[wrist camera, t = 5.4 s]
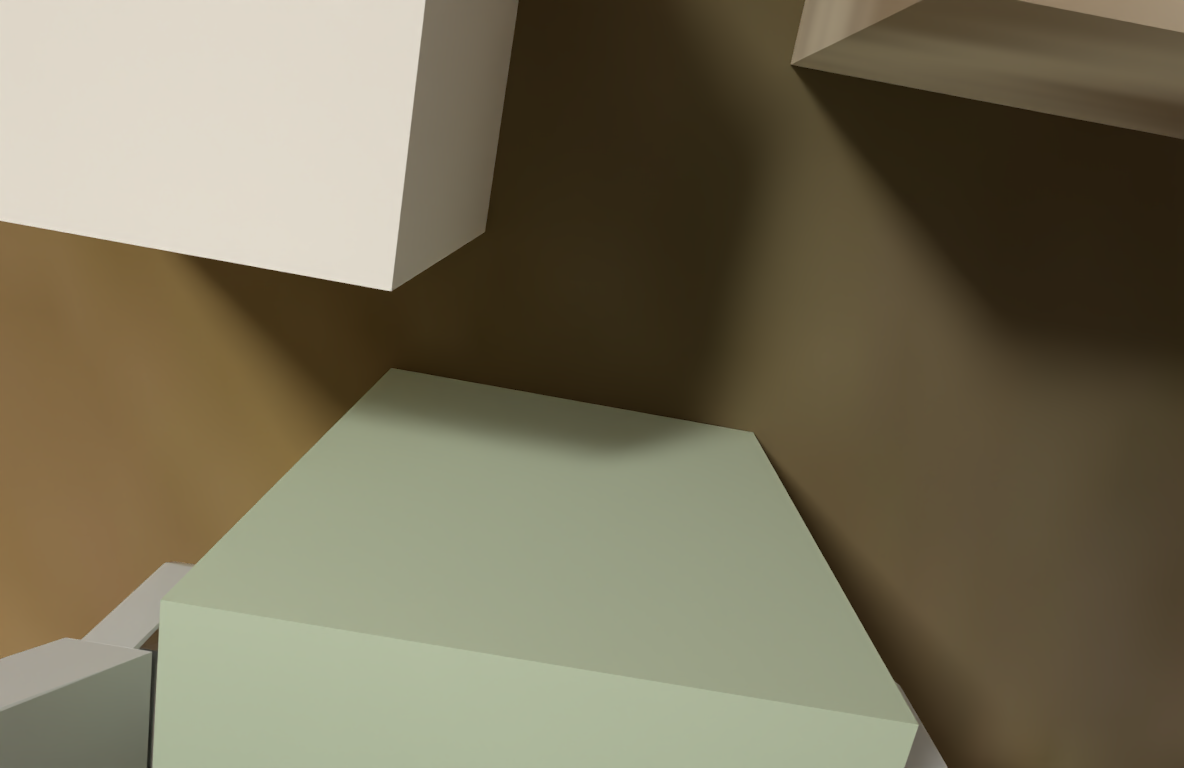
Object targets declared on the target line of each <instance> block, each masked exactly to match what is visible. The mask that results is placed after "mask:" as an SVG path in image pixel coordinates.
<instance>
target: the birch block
mask: <svg viewBox="0 0 1184 768" xmlns="http://www.w3.org/2000/svg"><path fill="white" fill-rule="evenodd" d="M791 65H795V66H800V67H805V68H810V69H816V70H821V71H826V72H832V73H837V74H842V75H847V76H853V77H858V78H863V79H868V80H874V81H879V82H884V83H890V84H895V85H900V86H905V87H911V88H916V89H921V90H926V91H932V92H937V93H942V94H948V95H953V96H958V97H963V98H969V99H974V100H979V101H984V102H990V103H995V104H1000V105H1005V106H1011V107H1016V108H1021V109H1027V110H1032V111H1037V112H1042V113H1048V114H1053V115H1058V116H1063V117H1069V118H1074V119H1079V120H1085V121H1090V122H1095V123H1100V124H1106V125H1111V126H1116V127H1121V128H1127V129H1132V130H1137V131H1143V132H1148V133H1153V134H1158V135H1164V136H1169V137H1174V138H1179V139H1184V0H805V3H804V8H803V12H802V17H801V21H800V25H799V30H798V34H797V39H796V43H795V47H794V52H793V56H792V61H791Z"/></svg>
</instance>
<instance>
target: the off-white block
mask: <svg viewBox="0 0 1184 768" xmlns="http://www.w3.org/2000/svg"><path fill="white" fill-rule="evenodd" d="M518 2H519V0H0V221H5V222H11V223H16V224H22V225H27V226H33V227H38V228H44V229H49V230H55V231H60V232H66V233H71V234H77V235H82V236H88V237H94V238H99V239H105V240H110V241H116V242H121V243H127V244H132V245H138V246H143V247H149V248H154V249H160V250H165V251H171V252H176V253H182V254H187V255H193V256H199V257H204V258H210V259H215V260H221V261H226V262H232V263H237V264H243V265H248V266H254V267H259V268H265V269H270V270H276V271H281V272H287V273H292V274H298V275H304V276H309V277H315V278H320V279H326V280H331V281H337V282H342V283H348V284H353V285H359V286H364V287H370V288H375V289H381V290H386V291H393V290H394V289H396V288H397V287H399V286H401V285H402V284H404V283H405V282H407V281H409V280H410V279H412V278H413V277H415V276H416V275H418V274H420V273H421V272H423V271H424V270H426V269H427V268H429V267H431V266H432V265H434V264H435V263H437V262H438V261H440V260H442V259H443V258H445V257H446V256H448V255H450V254H451V253H453V252H454V251H456V250H457V249H459V248H461V247H462V246H464V245H465V244H467V243H468V242H470V241H472V240H473V239H475V238H476V237H478V236H480V235H481V234H483V233H484V232H485V229H486V222H487V215H488V208H489V201H490V194H491V187H492V181H493V174H494V167H495V160H496V153H497V146H498V139H499V132H500V126H501V119H502V112H503V105H504V98H505V91H506V84H507V78H508V71H509V64H510V57H511V50H512V43H513V36H514V29H515V23H516V16H517V9H518Z"/></svg>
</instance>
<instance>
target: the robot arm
mask: <svg viewBox="0 0 1184 768" xmlns="http://www.w3.org/2000/svg"><path fill="white" fill-rule="evenodd" d="M195 565H196V564H189V563H182V562H176V561H175V562H166V563H164V564H163V565H162V566H161V567H159V568H158V569H157V570H156V571H155V572H154V573H153V574H152V575H151V576H150V577H149V578H148V579H146V580H145V581H144V582H143V583H142V584H141V585H140V586H139V587H138V588H137V589H136V590H134V591H133V592H132V593H131V594H130V595H129V596H128V597H127V598H126V599H125V600H124V601H123V602H121V603H120V604H119V605H118V606H117V607H116V608H115V609H114V610H113V611H112V612H111V613H110V614H108V615H107V616H106V617H105V618H104V619H103V620H102V621H101V622H100V623H99V624H98V625H96V626H95V627H94V628H93V629H92V630H91V631H90V632H89V633H88V634H87V635H86V636H85V637H83V638H82V639H81V640H78V639H71V638H63V639H60V640H57V641H54V642H51V643H48V644H45V645H42V646H39V647H35V648H32V649H29V650H26V651H23V652H20V653H17V654H14V655H11V656H8V657H5V658H2V659H0V768H152V766H153V745H154V724H155V704H156V683H157V662H158V641H159V620H160V600H161V599H162V598H163V597H164V596H165V595H166V594H167V593H168V592H169V591H170V590H171V589H172V588H173V587H174V586H175V585H176V584H177V583H178V582H179V581H180V580H181V579H182V578H183V577H184V576H185V575H186V574H187V573H188V572H189V571H190V570H191V569H192V568H193V567H194V566H195ZM894 682H895V681H894ZM895 684H896V685H897V687H898V689H899V691H900V692H901V694H902V696H903V698H904V700H905V701H906V703H907V705H908V707H909V708H910V710H911V712H912V714H913V715H914V717H915V719H916V721H917V722H918V724H919V726H918V729H917V732H916V735H915V738H914V741H913V743H912V746H911V749H910V752H909V755H908V758H907V761H906V764H905V767H904V768H948V767H947V765H946V764H945V762H944V760H943V758H942V757H941V755H940V753H939V752H938V750H937V748H936V746H935V745H934V743H933V741H932V740H931V738H930V736H929V734H928V733H927V731H926V729H925V728H924V726H923V724H922V722H921V721H920V719H919V717H918V716H917V714H916V712H915V710H914V709H913V707H912V705H911V704H910V702H909V700H908V698H907V697H906V695H905V693H904V692H903V690H902V688H901V686H900V685H899V684H898V683H896V682H895Z"/></svg>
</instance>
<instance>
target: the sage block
mask: <svg viewBox="0 0 1184 768" xmlns="http://www.w3.org/2000/svg"><path fill="white" fill-rule="evenodd" d="M918 726H919V724H918V722H917V721H916V719H915V717H914V715H913V714H912V712H911V710H910V708H909V707H908V705H907V703H906V701H905V700H904V698H903V696H902V694H901V692H900V691H899V689H898V687H897V685H896V684H895V682H894V680H893V678H892V677H891V675H890V673H889V671H888V670H887V668H886V666H885V664H884V662H883V661H882V659H881V657H880V655H879V654H878V652H877V650H876V648H875V647H874V645H873V643H872V641H871V640H870V638H869V636H868V634H867V632H866V631H865V629H864V627H863V625H862V624H861V622H860V620H859V618H858V617H857V615H856V613H855V611H854V610H853V608H852V606H851V604H850V602H849V601H848V599H847V597H846V595H845V594H844V592H843V590H842V588H841V587H840V585H839V583H838V581H837V580H836V578H835V576H834V574H833V572H832V571H831V569H830V567H829V565H828V564H827V562H826V560H825V558H824V557H823V555H822V553H821V551H820V550H819V548H818V546H817V544H816V542H815V541H814V539H813V537H812V535H811V534H810V532H809V530H808V528H807V527H806V525H805V523H804V521H803V520H802V518H801V516H800V514H799V512H798V511H797V509H796V507H795V505H794V504H793V502H792V500H791V498H790V497H789V495H788V493H787V491H786V490H785V488H784V486H783V484H782V482H781V481H780V479H779V477H778V475H777V474H776V472H775V470H774V468H773V467H772V465H771V463H770V461H769V460H768V458H767V456H766V454H765V452H764V451H763V449H762V447H761V445H760V444H759V442H758V440H757V438H756V437H755V435H754V433H753V432H748V431H742V430H737V429H731V428H725V427H720V426H714V425H709V424H703V423H697V422H692V421H686V420H681V419H675V418H669V417H664V416H658V415H653V414H647V413H641V412H636V411H630V410H625V409H619V408H613V407H608V406H602V405H597V404H591V403H585V402H580V401H574V400H569V399H563V398H557V397H552V396H546V395H541V394H535V393H529V392H524V391H518V390H513V389H507V388H501V387H496V386H490V385H485V384H479V383H473V382H468V381H462V380H457V379H451V378H445V377H440V376H434V375H429V374H423V373H417V372H412V371H406V370H401V369H395V368H391V369H390V370H389V371H388V372H387V373H386V374H385V375H384V376H383V377H382V378H381V379H380V380H379V381H378V382H377V383H376V384H375V385H374V386H373V387H372V388H371V389H370V390H369V391H368V392H367V393H366V394H365V395H364V396H363V397H362V398H361V399H360V400H359V401H358V402H357V403H356V404H355V405H354V406H353V407H352V408H351V409H350V410H349V411H348V412H347V413H346V414H345V415H344V416H343V417H342V418H341V419H340V420H339V421H338V422H337V423H336V424H335V425H334V426H333V427H332V428H331V429H330V430H329V431H328V432H327V433H326V434H325V435H324V436H323V437H322V438H321V439H320V440H319V441H318V442H317V443H316V444H315V445H314V446H313V447H312V448H311V449H310V450H309V451H308V452H307V453H306V454H305V455H304V456H303V457H302V458H301V459H300V460H299V461H298V462H297V463H296V464H295V465H294V466H293V467H292V468H291V469H290V470H289V471H288V472H287V473H286V474H285V475H284V476H283V477H282V478H281V479H280V480H279V481H278V482H277V483H276V484H275V485H274V486H273V487H272V488H271V489H270V490H269V491H268V492H267V493H266V494H265V495H264V496H263V497H262V498H261V499H260V500H259V501H258V502H257V503H256V504H255V505H254V506H253V507H252V508H251V509H250V510H249V511H248V512H247V513H246V514H245V515H244V516H243V517H242V518H241V519H240V520H239V521H238V522H237V523H236V524H235V525H234V526H233V527H232V528H231V529H230V530H229V531H228V532H227V533H226V534H225V535H224V536H223V537H222V538H221V539H220V540H219V541H218V542H217V543H216V544H215V545H214V546H213V547H212V548H211V549H210V550H209V552H208V553H207V554H206V555H205V556H204V557H203V558H202V559H201V560H200V561H199V562H198V563H197V564H196V565H195V566H194V567H193V568H192V569H191V570H190V571H189V572H188V573H187V574H186V575H185V576H184V577H183V578H182V579H181V580H180V581H179V582H178V583H177V584H176V585H175V586H174V587H173V588H172V589H171V590H170V591H169V592H168V593H167V594H166V595H165V596H164V597H163V598H162V599H161V600H160V620H159V641H158V662H157V683H156V704H155V724H154V745H153V766H152V768H904V767H905V764H906V761H907V758H908V755H909V752H910V749H911V746H912V743H913V741H914V738H915V735H916V732H917V729H918Z"/></svg>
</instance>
